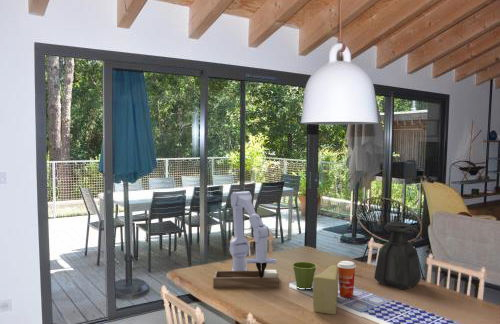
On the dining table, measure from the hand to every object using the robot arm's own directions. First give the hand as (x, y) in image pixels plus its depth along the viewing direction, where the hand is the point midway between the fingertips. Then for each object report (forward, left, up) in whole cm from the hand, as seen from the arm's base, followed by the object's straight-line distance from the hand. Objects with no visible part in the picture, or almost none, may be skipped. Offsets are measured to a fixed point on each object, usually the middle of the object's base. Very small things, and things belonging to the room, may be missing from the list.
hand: (261, 277), depth 212 cm
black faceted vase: (+1, +68, -3) cm, 68 cm away
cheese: (+28, +29, -3) cm, 40 cm away
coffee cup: (+17, +39, -3) cm, 42 cm away
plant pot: (+7, +21, -3) cm, 22 cm away
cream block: (0, +5, -1) cm, 5 cm away
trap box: (0, -7, -3) cm, 8 cm away
